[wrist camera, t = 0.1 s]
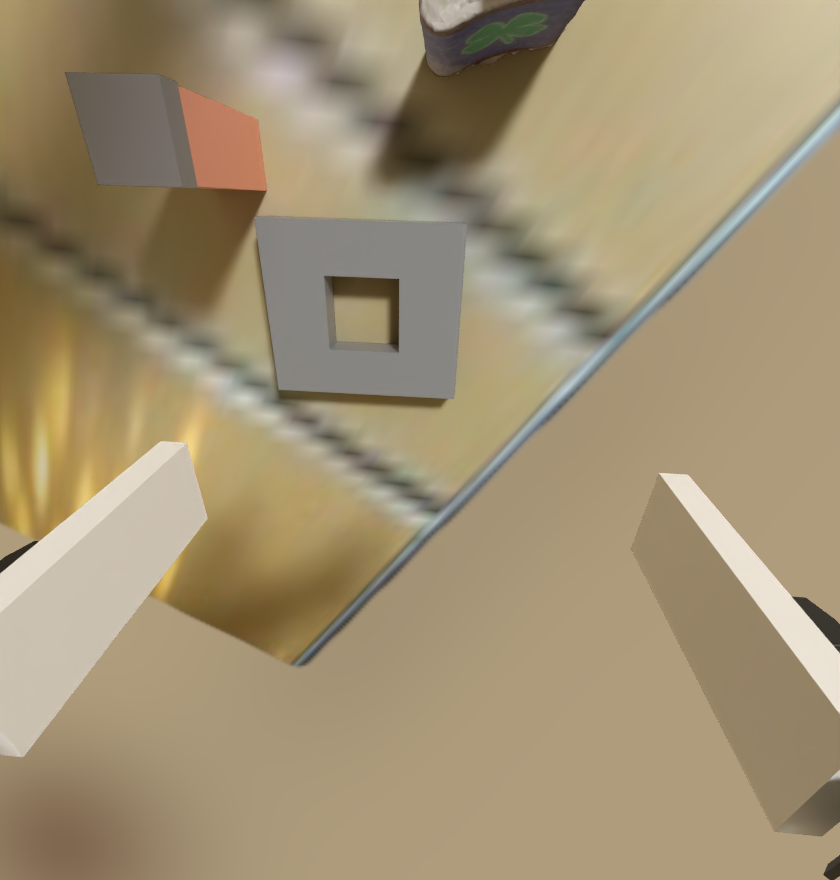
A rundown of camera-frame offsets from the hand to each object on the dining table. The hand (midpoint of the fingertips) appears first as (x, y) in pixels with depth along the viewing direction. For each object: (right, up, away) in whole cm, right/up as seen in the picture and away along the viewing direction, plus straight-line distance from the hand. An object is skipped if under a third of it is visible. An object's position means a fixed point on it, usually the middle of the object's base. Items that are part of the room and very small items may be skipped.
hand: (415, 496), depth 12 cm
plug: (-14, +23, +20) cm, 34 cm away
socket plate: (-4, +13, +25) cm, 29 cm away
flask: (+5, +28, +16) cm, 33 cm away
